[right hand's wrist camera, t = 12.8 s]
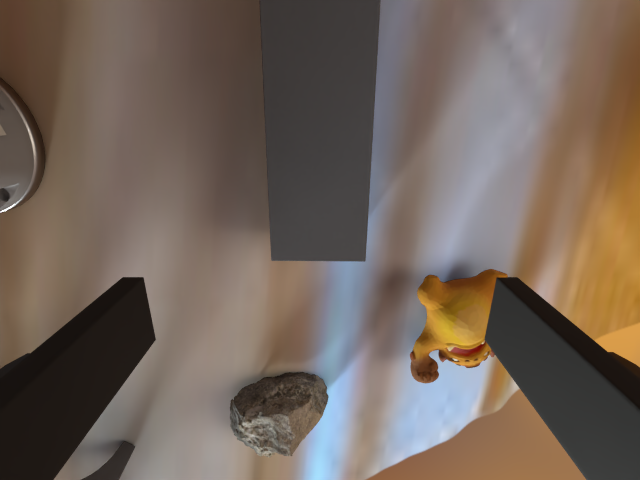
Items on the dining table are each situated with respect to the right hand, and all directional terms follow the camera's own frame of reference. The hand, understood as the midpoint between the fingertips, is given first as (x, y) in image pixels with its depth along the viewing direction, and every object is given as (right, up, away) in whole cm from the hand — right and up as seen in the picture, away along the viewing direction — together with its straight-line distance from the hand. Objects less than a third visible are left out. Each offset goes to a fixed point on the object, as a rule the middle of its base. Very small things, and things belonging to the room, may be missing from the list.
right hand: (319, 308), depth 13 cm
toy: (+16, -6, +29) cm, 33 cm away
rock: (-6, -18, +33) cm, 38 cm away
